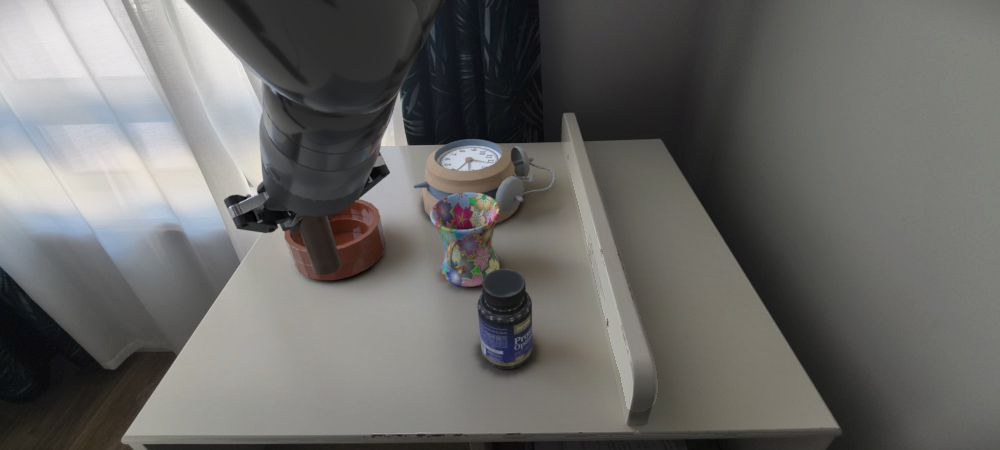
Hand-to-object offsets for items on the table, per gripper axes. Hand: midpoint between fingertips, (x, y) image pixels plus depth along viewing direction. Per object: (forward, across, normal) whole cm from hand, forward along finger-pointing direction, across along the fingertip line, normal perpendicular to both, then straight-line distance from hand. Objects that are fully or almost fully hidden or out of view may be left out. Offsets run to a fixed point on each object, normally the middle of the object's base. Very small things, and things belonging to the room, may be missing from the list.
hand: (306, 216), depth 49 cm
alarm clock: (+25, -33, +3) cm, 41 cm away
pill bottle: (+5, -15, +23) cm, 28 cm away
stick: (+2, 0, +5) cm, 6 cm away
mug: (+15, -19, +13) cm, 27 cm away
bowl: (+27, -7, +1) cm, 28 cm away
